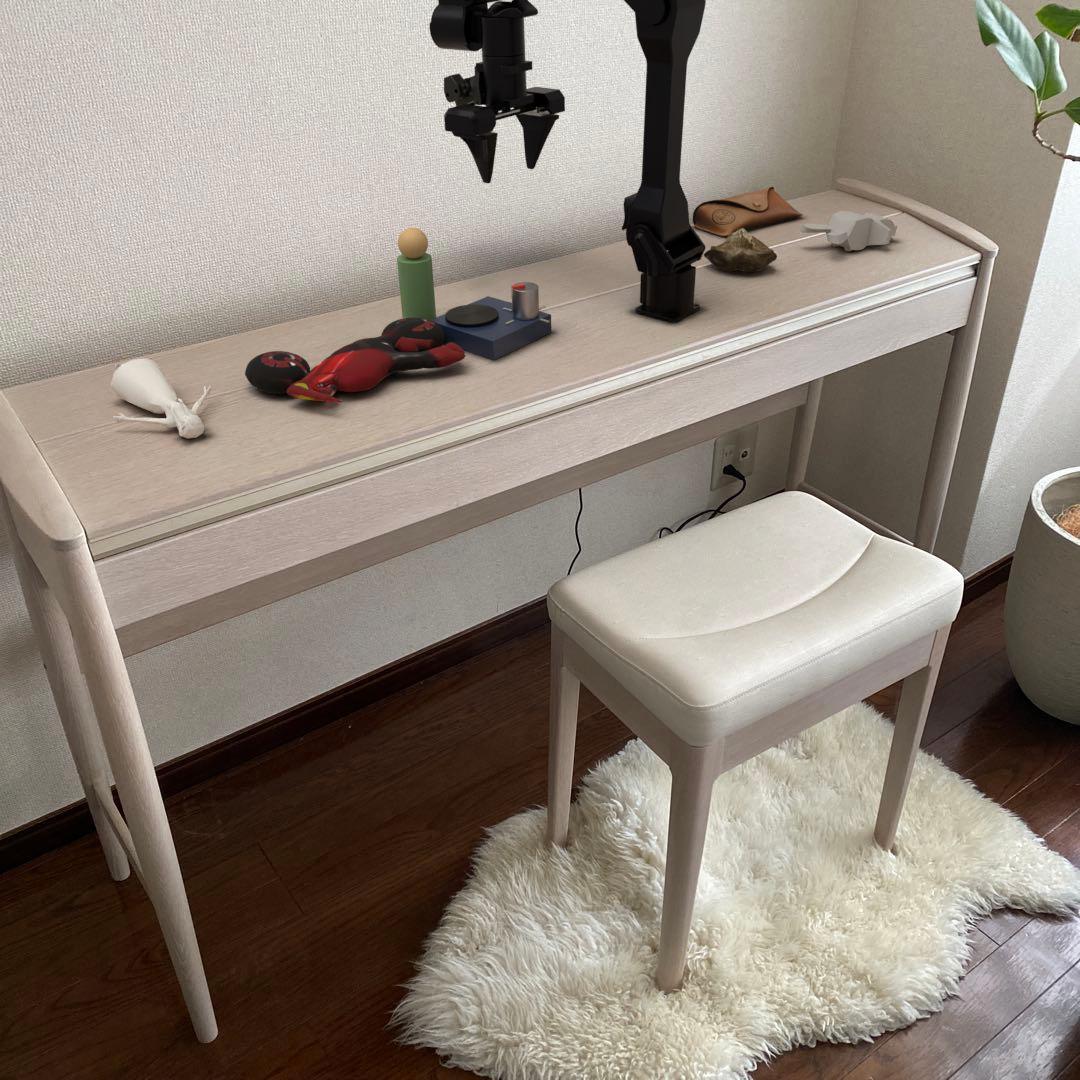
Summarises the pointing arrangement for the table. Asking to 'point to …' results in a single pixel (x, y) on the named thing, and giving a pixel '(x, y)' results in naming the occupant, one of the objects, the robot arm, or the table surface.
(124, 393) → the woman figurine
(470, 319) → the burner plate
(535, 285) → the stove knob
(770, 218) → the sunglasses case
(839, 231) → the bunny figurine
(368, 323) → the table surface
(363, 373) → the toy motorcycle
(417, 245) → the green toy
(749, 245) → the fossilized seashell
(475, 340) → the hot plate
